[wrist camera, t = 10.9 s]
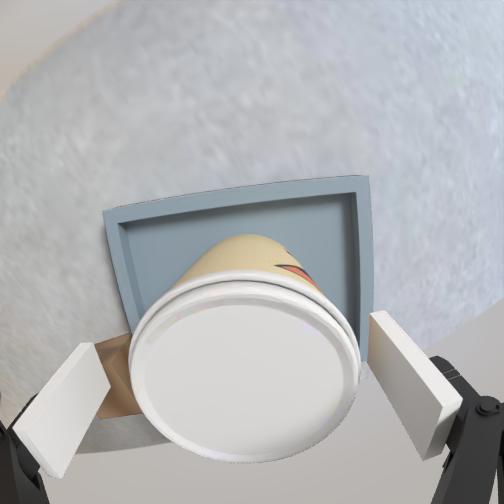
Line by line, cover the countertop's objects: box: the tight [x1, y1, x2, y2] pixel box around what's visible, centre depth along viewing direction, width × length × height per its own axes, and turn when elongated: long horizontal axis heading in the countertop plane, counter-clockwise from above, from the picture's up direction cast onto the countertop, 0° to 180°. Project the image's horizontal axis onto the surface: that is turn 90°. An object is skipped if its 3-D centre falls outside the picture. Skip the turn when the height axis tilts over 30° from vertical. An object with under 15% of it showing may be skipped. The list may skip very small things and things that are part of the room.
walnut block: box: [94, 333, 143, 419], centre depth 23 cm, size 5×5×5 cm
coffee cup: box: [128, 234, 361, 463], centre depth 16 cm, size 9×9×12 cm
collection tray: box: [102, 175, 374, 362], centre depth 22 cm, size 18×14×2 cm
